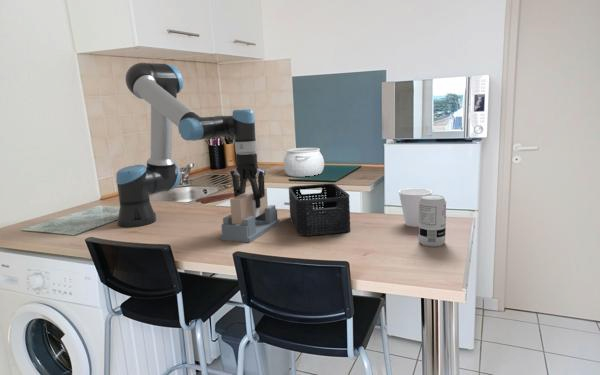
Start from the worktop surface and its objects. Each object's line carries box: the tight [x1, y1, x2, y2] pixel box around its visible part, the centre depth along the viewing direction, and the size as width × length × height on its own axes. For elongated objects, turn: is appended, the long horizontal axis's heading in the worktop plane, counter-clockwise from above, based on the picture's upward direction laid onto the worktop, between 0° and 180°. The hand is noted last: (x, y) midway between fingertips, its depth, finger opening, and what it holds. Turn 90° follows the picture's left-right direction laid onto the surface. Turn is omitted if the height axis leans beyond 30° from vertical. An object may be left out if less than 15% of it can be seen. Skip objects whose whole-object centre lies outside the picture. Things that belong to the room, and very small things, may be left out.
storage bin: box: [288, 183, 351, 237], centre depth 162 cm, size 29×19×13 cm
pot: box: [283, 147, 325, 178], centre depth 277 cm, size 29×26×16 cm
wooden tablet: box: [196, 192, 235, 204], centre depth 219 cm, size 27×10×2 cm, turn 133°
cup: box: [398, 187, 433, 228], centre depth 156 cm, size 12×12×12 cm
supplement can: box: [417, 194, 447, 247], centre depth 135 cm, size 8×8×15 cm
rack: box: [219, 204, 281, 243], centre depth 158 cm, size 12×24×8 cm, turn 157°
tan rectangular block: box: [229, 187, 269, 225], centre depth 157 cm, size 4×20×9 cm, turn 157°
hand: (250, 215), depth 157 cm, fingers closed on tan rectangular block, 4 cm apart
